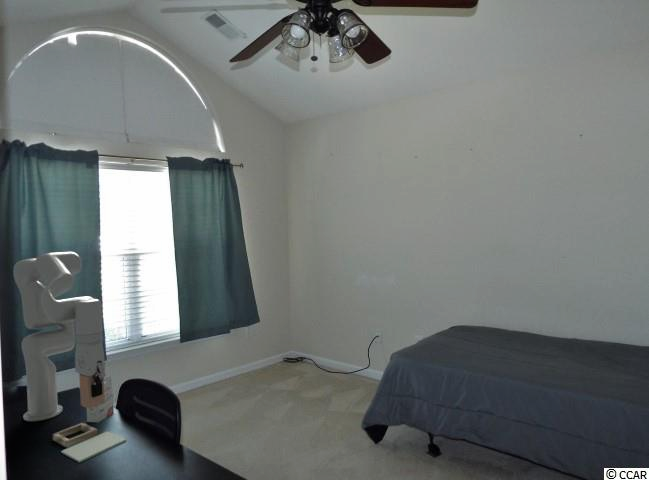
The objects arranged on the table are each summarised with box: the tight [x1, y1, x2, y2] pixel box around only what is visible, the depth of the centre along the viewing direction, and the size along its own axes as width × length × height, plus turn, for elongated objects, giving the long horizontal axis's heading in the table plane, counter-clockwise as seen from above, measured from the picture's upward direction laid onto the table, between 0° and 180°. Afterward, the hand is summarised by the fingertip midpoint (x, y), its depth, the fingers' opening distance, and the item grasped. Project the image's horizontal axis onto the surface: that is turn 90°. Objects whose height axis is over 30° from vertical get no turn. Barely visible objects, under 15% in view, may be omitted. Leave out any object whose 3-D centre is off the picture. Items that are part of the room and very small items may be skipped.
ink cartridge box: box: [86, 375, 115, 423], centre depth 160 cm, size 9×5×15 cm, turn 168°
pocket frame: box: [52, 422, 99, 449], centre depth 145 cm, size 10×10×2 cm
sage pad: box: [61, 430, 127, 463], centre depth 138 cm, size 11×15×1 cm
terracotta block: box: [78, 372, 105, 409], centre depth 138 cm, size 5×5×10 cm
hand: (92, 393), depth 138 cm, fingers closed on terracotta block, 5 cm apart
